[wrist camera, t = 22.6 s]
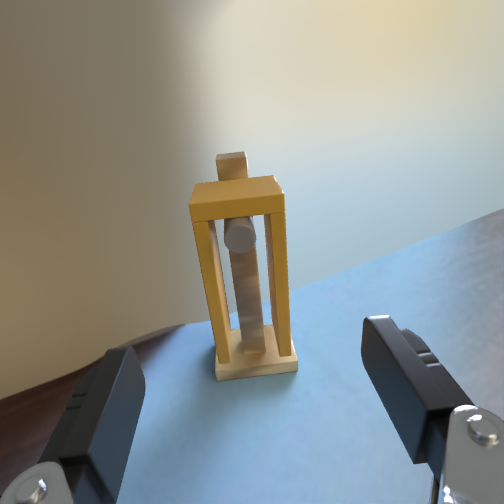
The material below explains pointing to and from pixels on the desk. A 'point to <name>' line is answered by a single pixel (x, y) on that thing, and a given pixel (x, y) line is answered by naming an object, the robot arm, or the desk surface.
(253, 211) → the yellow goalpost frame
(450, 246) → the desk surface
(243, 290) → the rack
